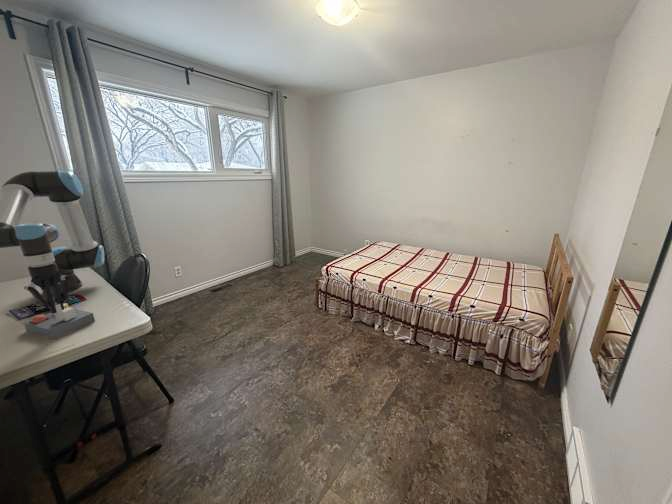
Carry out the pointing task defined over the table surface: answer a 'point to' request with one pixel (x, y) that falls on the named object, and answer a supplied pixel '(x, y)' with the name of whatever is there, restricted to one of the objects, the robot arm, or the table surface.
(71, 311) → the slider
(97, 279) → the table surface
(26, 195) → the robot arm
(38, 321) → the button red
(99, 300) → the table surface
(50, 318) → the panel
